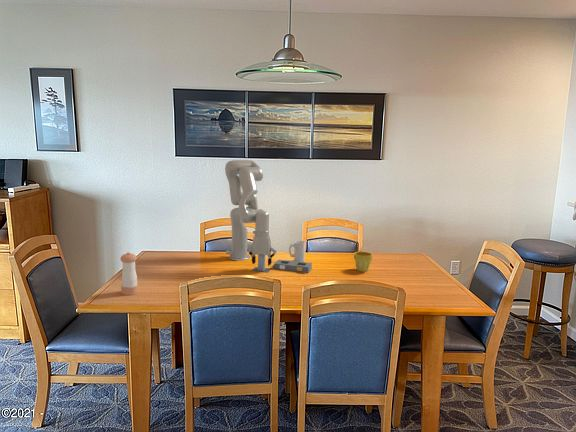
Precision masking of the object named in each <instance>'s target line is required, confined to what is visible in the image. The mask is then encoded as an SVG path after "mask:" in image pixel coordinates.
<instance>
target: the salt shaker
mask: <svg viewBox="0 0 576 432" xmlns="http://www.w3.org/2000/svg"><path fill="white" fill-rule="evenodd" d="M136 261H137V256H136V254H134V253H131V252H126V253H124V254H122V255H121V256H120V262H122V264H121V265H122V272H121V273H122V274H121V286H120V289H121V291H120V292H121V295H123V296H132V295H136V294H138V293H139V284H138V275H137V272H136Z"/></svg>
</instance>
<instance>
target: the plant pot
mask: <svg viewBox="0 0 576 432" xmlns="http://www.w3.org/2000/svg"><path fill="white" fill-rule="evenodd" d="M353 259H354V262H355V268H356V269H355V270H356V271H357V272H362V273H363V272H365V273H366V272H368V271H369V268H370V265H371V262H372V260H373V254H372V253H371V252H369V251H361V250H360V251H354V253H353Z"/></svg>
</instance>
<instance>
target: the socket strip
mask: <svg viewBox="0 0 576 432" xmlns="http://www.w3.org/2000/svg"><path fill="white" fill-rule="evenodd" d="M312 268H313V263H312V262H306V261H305V262H298V261H294V260H287V259H277V260H276V261H275V262H274V263H273V270H281V271H288V272H297V273H301V272H302V274H309V273H310V272H311V270H312Z"/></svg>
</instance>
